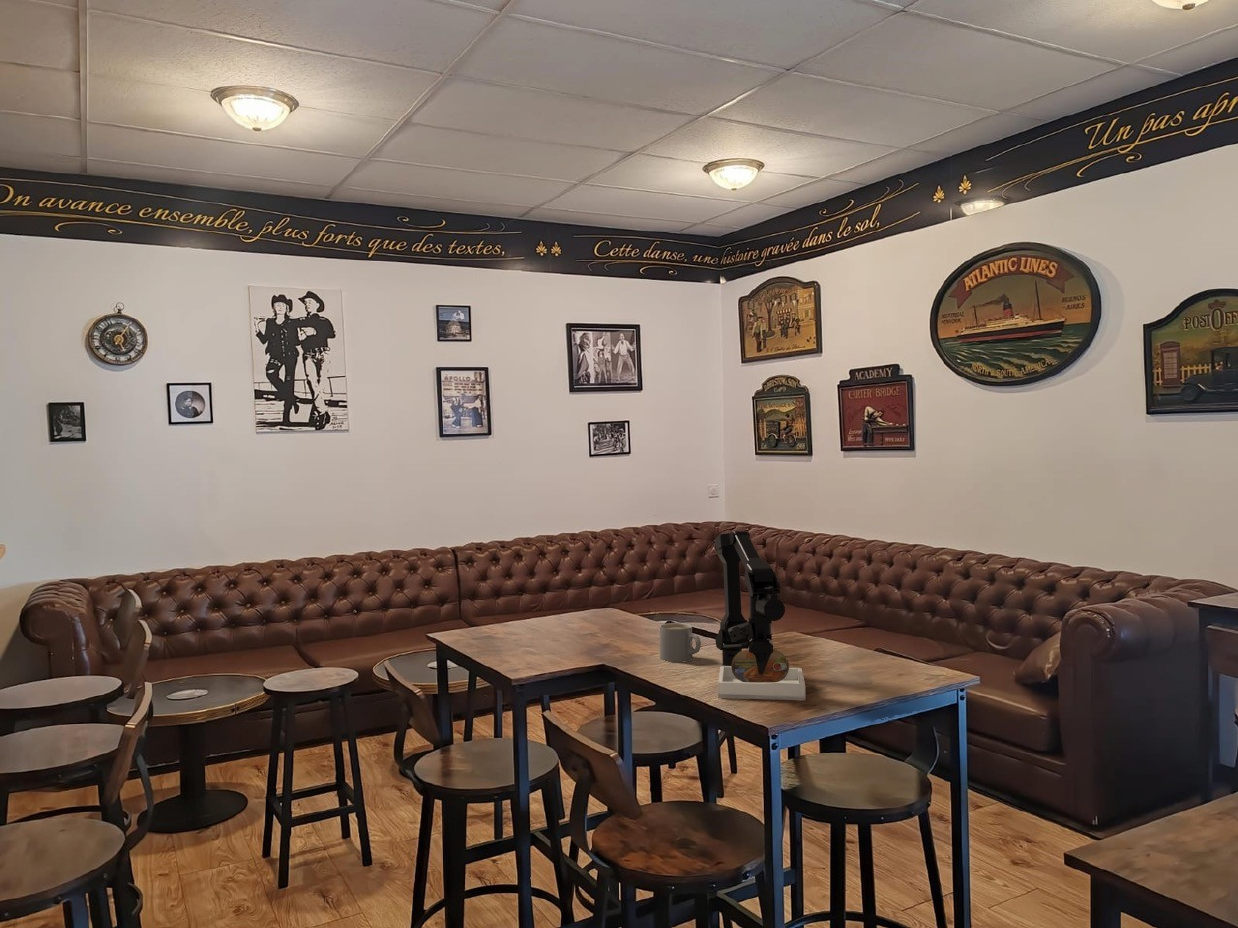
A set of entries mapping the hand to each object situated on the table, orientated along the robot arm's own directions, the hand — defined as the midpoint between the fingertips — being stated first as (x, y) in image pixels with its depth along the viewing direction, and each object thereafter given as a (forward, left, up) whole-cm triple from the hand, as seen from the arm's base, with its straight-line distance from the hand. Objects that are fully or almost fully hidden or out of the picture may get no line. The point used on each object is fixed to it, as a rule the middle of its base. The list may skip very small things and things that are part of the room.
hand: (760, 672), depth 240 cm
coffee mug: (-33, -24, -5) cm, 41 cm away
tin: (0, 0, -3) cm, 3 cm away
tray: (0, 0, -5) cm, 5 cm away
